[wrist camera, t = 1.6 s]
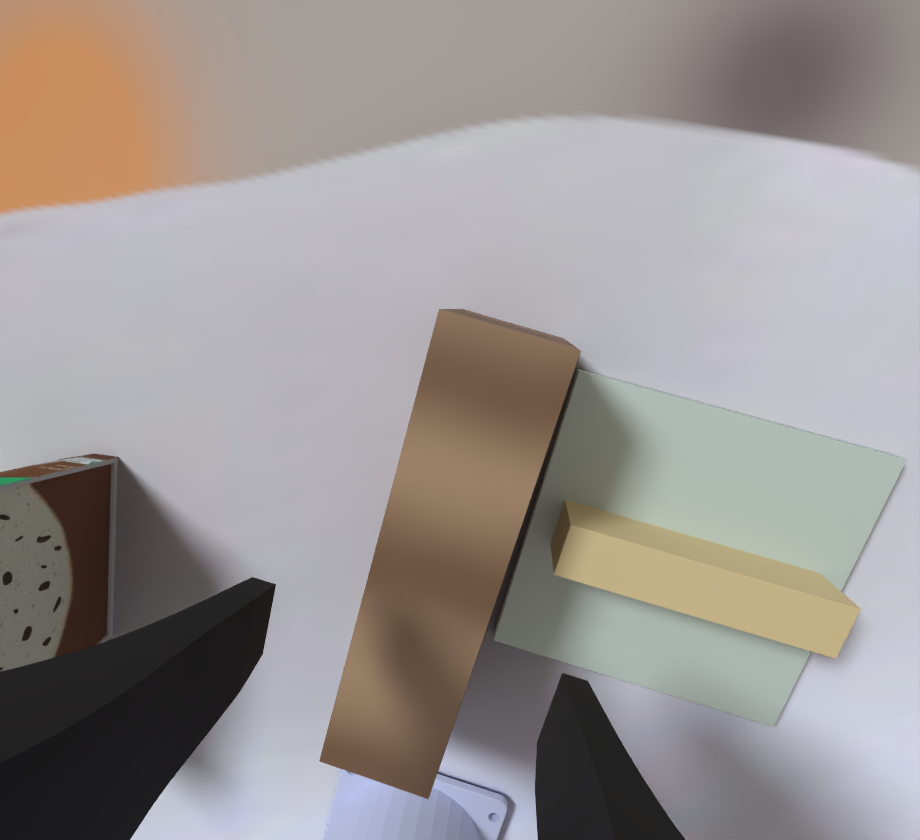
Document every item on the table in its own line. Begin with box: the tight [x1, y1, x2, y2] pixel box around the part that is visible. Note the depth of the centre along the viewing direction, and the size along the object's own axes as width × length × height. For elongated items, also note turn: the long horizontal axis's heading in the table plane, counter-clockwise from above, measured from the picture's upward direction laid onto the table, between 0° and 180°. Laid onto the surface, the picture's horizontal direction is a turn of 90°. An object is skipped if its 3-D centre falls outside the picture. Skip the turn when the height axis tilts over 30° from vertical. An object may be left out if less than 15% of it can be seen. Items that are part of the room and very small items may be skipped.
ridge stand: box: [493, 369, 907, 727], centre depth 19 cm, size 12×12×3 cm
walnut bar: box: [320, 309, 581, 799], centre depth 18 cm, size 16×4×6 cm, turn 164°
